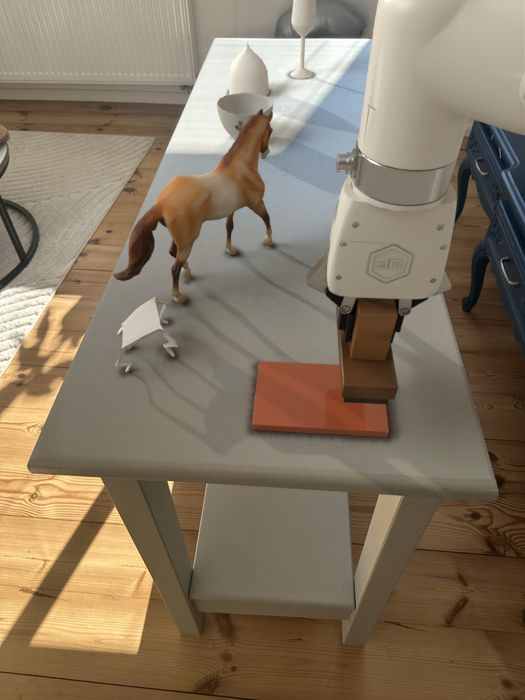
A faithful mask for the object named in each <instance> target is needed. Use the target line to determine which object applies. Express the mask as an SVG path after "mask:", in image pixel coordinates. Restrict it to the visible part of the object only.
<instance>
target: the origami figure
mask: <svg viewBox="0 0 525 700" xmlns="http://www.w3.org/2000/svg"><path fill="white" fill-rule="evenodd" d="M157 305H162V307H161V311H160V314H159V312H158V308H157V307H158V306H157ZM167 306H168V301H167V300H165V299H164V300H163V299H161V298H158V296H154V297H152V298H150V299H149V300H147V301H146V302H145V303H143V304H141V305H140V306H138V307H137V308H136V309H135V310H134V311H133V312H132V313H131V314H130V315H128V317H127V318H126V319H125V320H124V321H123V322H121V327H120V328H119V329H118V331H117V336H118V337H120V338H121V339H122V345H121V348H120V351H121V352H120V354H119V358H118V359H117V361H116V363H115V366H114V367H115V368H121V367H126V369H125V373H128V372H129V371H130V370H131V368H132V365H133V362H129V363H121V362H122V360H123V358H124V355H125V353H126V350H131V349H132V347H133V346H135V345H136V344H138V343H139V342H141V341H143V340H144V339H146V338H148V337H150V336H152V335H154V334H156V333H158V332H160V334H162V336H163V337H164V338H165V339H166V340H167V342H166V343H163V349H165V350H166V352H167V353H168V354H169V355H170V356H171V357H175V356H176V355H175V352H174V351H173V350H172V349H171V348H178V347H179V346H178V343H177V341H176V340H175V339H174V338H173V337H172V336H171V335H170V334H169V333H167V331H165V330H164V328H163V327H162V325H161V323H162V324H164V325H168V324H169V321H168V320H167V319H164V318H162V317H163V315H164V313H165V310H166V308H167Z"/></svg>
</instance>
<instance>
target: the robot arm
mask: <svg viewBox="0 0 525 700" xmlns="http://www.w3.org/2000/svg"><path fill="white" fill-rule="evenodd" d="M373 22H374V24H373V31H372V37H371V38H372V39H371V46H370V51H369V60H368V68H367V74H366V81H365V89H364V96H363V104H362V111H361V116H360V117H361V118H360V125H359V131H358V136H357V137H358V138H357V139H356V141H355V148H354V147H353V148H352V150H351V152H350V151H349V152H346V153H337V154H336V162H335V163H336V165H335V172H336V173H345V175H348V176H347V177H346V178H345V180H344V183H343V185H342V188H341V190H340V194H339V196H338V199H337V203H336V206H335V211H334V215H333V220H332V224H331V228H330V233H329V239H328V245H327V251H326V252H325V253H324V254H323V255H322V256H321V257H320V259H319V260H318V261H317V262H316V263H315V264H314V265H313V266H312V268H311V269H310V270H309V271H308V273H307V274H306V283H307V286H309V287H310V288H312V289H313V290H315V291H318V292H319V293H321V294H322V293H323V294H325V297H326V298H328V299H329V300H330V301H331V302H332V303H333V304H334V305H336V307H337V306H338V307H339V308H340V309H339V316H338V330H343V331H344V342H350V341H351V339H352V334H353V328H354V323H355V318H356V313H355V301H356V298H357V297H358V298H387V299H395V304H396V309H397V315H398V316H397V320H396V323H395V327H394V331H393V334H392V338H391V341H390V344H391V345H393V343H394V339H395V335H396V333H401V329H402V326H403V323H404V319H405V317H406V316H408V315H410V314H411V312H412V309H413V308H415V307H418V305H420V304H422V303H424V302H426V301H427V300H428V299H429V298H430V297H435V296H438V295H441V294H443V293H446V292H448V291H451V289H452V283H451V280H450V277H449V274H448V272H447V271H446V267H447V261H448V258H449V253H450V249H451V248H450V247H451V243H452V238H453V232H454V227H455V221H456V214H457V204H458V193H457V191H456V190H455V188H454V186H453V185H452V183H451V181H452V177H453V174H454V172H455V168H456V165H457V161H458V157H459V154H460V151H461V148H462V144H463V141H464V137H465V133H466V131H467V127H468V124H469V121H470V120H473V121H476V122H480V123H482V124H486V125H489V126H492V127H494V128H498V129H500V130H504V131H506V132H510V133H513V134H517V135H520V136H525V0H378V2H377V5H376V12H375V17H374V21H373Z"/></svg>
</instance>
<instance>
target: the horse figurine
mask: <svg viewBox="0 0 525 700" xmlns="http://www.w3.org/2000/svg"><path fill="white" fill-rule="evenodd" d="M262 114H263V109H260V110H259V111H258V113H257V114H256V115H252V116H251V117H250V118H249V121H248V122H247V123H246V124H245V125H244V126H243V127H242V129H241V130H240V132H239V135H238V137H237V139H236V141H235V140H234V141H233V143H232V145H231V147H230V148H229V149H228V151H227V152H226V153H225V154H223V155H222V156H221V159H220V161H219V162H218V163H217V165H216V166H215V168H213V169H212V170H210V171H209V172H206V173H202V174H190V175H188V174H185V175H177V176H175V177H173V178H172V179H171V180H170V181H169V182H167V184H166V185H165V186H164V187H163V188H162V189H161V192H159V194H158V196H157V198H156V200H155V203H154V204H153V205H152V206H151V208H149V209H148V210H147V211H146V212H145V213H144V214H143V215H142V216H141V217H140V219H138V220H137V222H136V223H135V225H134V227H133V229H132V230H131V233H130V236H129V241H128V255H127V256H128V264H127V266H126V268H125V269H124V270H122V271H119V272H116V273H115V272H113V273H112V274H111V275H112V276H113V277H114V279H116V280H117V281H120V282H126V281H129V280H132V279H133V278H134V277H137V276H139V275H140V274H141V272H142V270H143V268H144V267H145V265H146V264H147V263H148V262H150V259H151V258H152V255H153V253H154V250H155V246H156V244H155V243H156V241H155V236H154V233H153V232H155V231H156V230H157V229H158V225H159V224H160V225H162V226H163V227H165V228H166V229H167V231H168V233H169V235H170V236H171V241H170V246H169V248H168V253H169V255H170V257H172V258H174V259H175V261H174V263H173V264H172V266H171V267H170V271H171V276H172V288H171V292H170V295H171V296H172V297H173V301H174V302H175V303H176V304H179V305H180V304H184V303H185V302H186V301H187V298H186V296H185V295H184V294H182V293H181V292H180V286H179V285H180V276H181V274H182V275H184V276H186V277H188V278H191V277H192V271H191V267H190V266H189V261H187V260H188V258H189V257H190V255H191V253H192V249H193V246H194V244H195V241H196V240H198V238H199V236H200V233H201V230H202V227H203V224H204V223H205V222H207V221H208V222H210V221H218V220H223V219H226V221H225V231H226V238H225V242H224V248H225V249H226V251H227V253H228V254H229V255H230V256H235V255H237V254H238V250H237V248H236V247H235V246H234V245H232V234H233V230H234V228H235V224H234V215H235V212H236V211H239V210H241V209H243V208H246V207H247V208H248V209H249V210H250V211H252V212H253V213H254V214H255V215H257V216H258V217H259V218H260V219H262V222H263V223H264V225H265V229H266V230H265V236H264V238H263V243H264V244H267V245H268V246H273V244H274V243H273V242H274V241H273V236H272V235H273V230H272V225H271V216H270V214H269V213H268V210H267V207H266V205H265V201H264V199H263V198H264V195H265V191H266V185H265V184H266V183H265V182H264V180H263V178H262V176H261V174H260V172H259V159H261V160H265V159H266V158H267V157H268V155H269V154H270V153H271V150H270V148H269V147H270V146H269V143H270V139H271V135H272V134H273V132H274V129H273V128H272V126H271V121H272V119H273V117H274V111H271V112H270V114H269V115H268V116H265V115H262Z"/></svg>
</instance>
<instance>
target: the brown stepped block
mask: <svg viewBox="0 0 525 700" xmlns="http://www.w3.org/2000/svg"><path fill="white" fill-rule="evenodd" d="M339 309H340V308H339V307H338V306H337V305H336V309H335V317H336V318H335V319H336V330H337V331H336V333H337V335H336V336H337V348H338V349H337V350H338V351H337V352H338V365H339V367H340V382H341V397H343V402H347V403H370V404H386V405H388V403H389V400H390V401H391V400H392V401H394V400H396V396H397V393H398V391H399V384H398V377H397V372H396V366H395V359H394V354H393V353H394V352H393V347H392V344H390V341H391V338H392V334H393V331H394V327H395V323H396V320H397V316H398V315H397V309H396V304H395V299H387V298H358V297H357V298H356V301H355V313H356V318H355V323H354V328H353V334H352V339H351V341H350V342H344V331H343V330H338V316H339Z"/></svg>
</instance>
